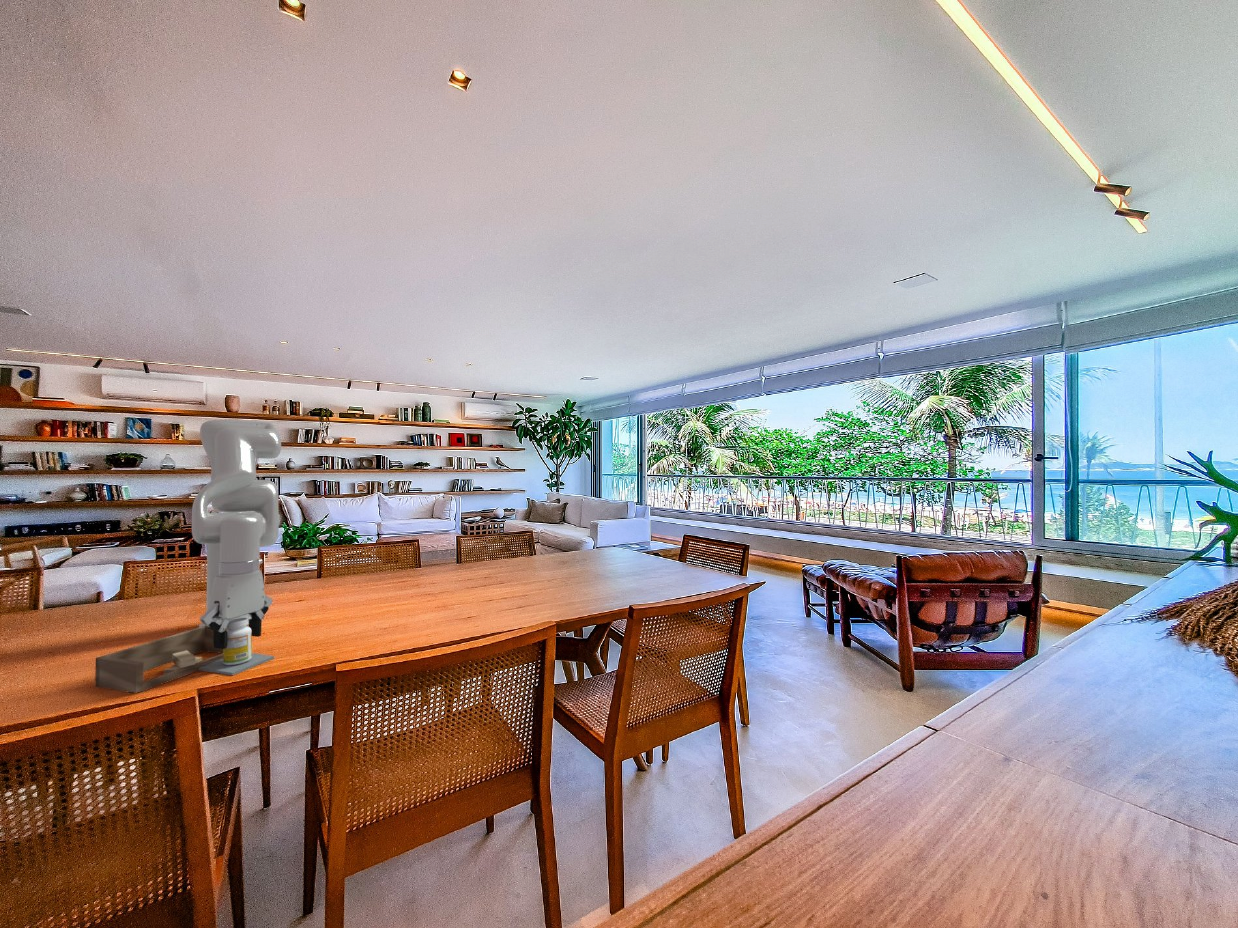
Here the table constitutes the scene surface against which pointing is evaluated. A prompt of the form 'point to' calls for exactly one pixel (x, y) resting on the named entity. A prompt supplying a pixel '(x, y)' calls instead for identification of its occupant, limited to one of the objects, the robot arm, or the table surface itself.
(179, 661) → the offcut upper
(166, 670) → the offcut lower
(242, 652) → the supplement bottle
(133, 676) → the frame
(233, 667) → the mat
